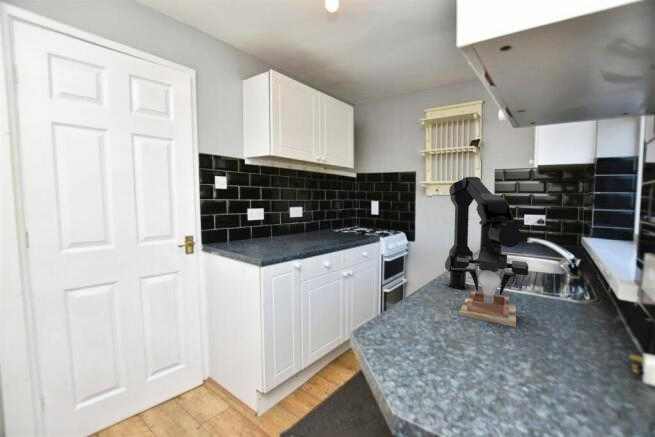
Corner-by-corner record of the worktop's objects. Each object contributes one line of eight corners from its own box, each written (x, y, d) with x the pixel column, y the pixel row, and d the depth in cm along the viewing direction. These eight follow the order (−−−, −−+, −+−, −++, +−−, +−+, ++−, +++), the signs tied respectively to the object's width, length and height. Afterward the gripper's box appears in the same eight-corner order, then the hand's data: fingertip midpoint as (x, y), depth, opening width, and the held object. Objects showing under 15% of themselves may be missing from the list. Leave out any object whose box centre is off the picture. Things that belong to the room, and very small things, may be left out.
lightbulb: (496, 301, 91) (498, 266, 90) (503, 309, 85) (505, 271, 84) (474, 299, 93) (475, 265, 92) (479, 307, 87) (481, 270, 86)
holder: (465, 301, 99) (466, 288, 98) (515, 309, 91) (516, 296, 91) (459, 315, 87) (459, 301, 87) (515, 326, 79) (516, 311, 79)
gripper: (452, 242, 86) (450, 294, 87) (530, 248, 76) (527, 307, 77) (458, 237, 95) (457, 284, 96) (528, 242, 85) (525, 295, 86)
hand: (488, 292), depth 89 cm, fingers closed on lightbulb, 6 cm apart
